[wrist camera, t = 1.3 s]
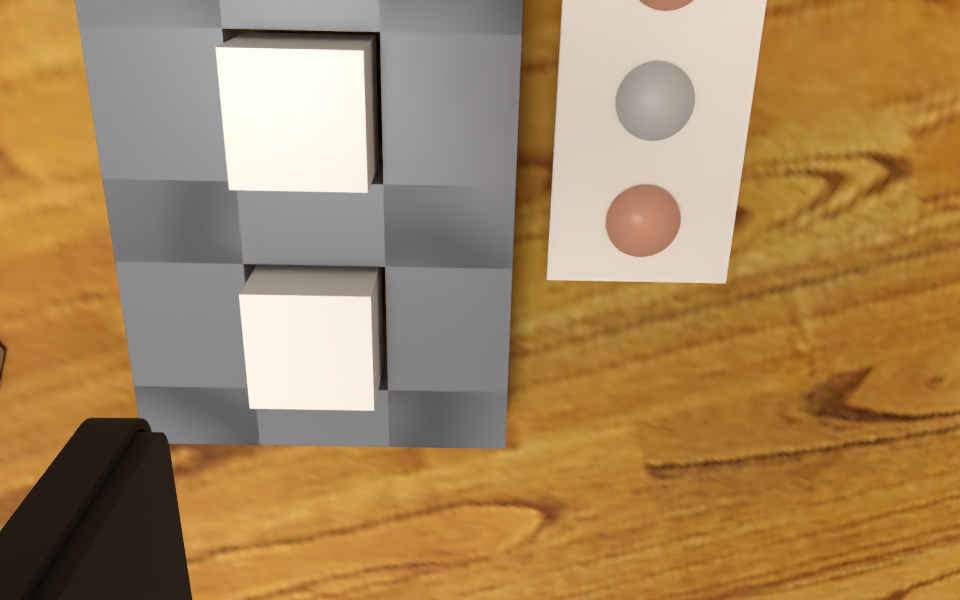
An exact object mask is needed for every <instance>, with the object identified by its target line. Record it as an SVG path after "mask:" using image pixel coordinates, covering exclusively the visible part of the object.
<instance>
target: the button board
mask: <svg viewBox="0 0 960 600" xmlns="http://www.w3.org/2000/svg"><path fill="white" fill-rule="evenodd" d="M75 3H76V10H77V16H78V23H79V29H80V36H81V42H82V49H83V55H84V62H85V69H86V75H87V82H88V88H89V95H90V101H91V108H92V114H93V121H94V127H95V134H96V140H97V147H98V154H99V160H100V167H101V173H102V180H103V186H104V193H105V199H106V206H107V212H108V219H109V225H110V232H111V239H112V245H113V252H114V258H115V265H116V271H117V278H118V284H119V291H120V297H121V304H122V310H123V317H124V323H125V330H126V337H127V343H128V350H129V356H130V363H131V369H132V376H133V382H134V389H135V395H136V402H137V408H138V415H139V418H144V419H145V420H146V421H148V423H149V425H150V427H151V430H152V432H163V433H164V434H165V435H166V437H167V439H168V443H177V444H240V445H303V446H367V447H430V448H493V449H505V442H506V417H507V391H508V366H509V341H510V316H511V291H512V266H513V240H514V215H515V190H516V165H517V140H518V115H519V90H520V64H521V39H522V14H523V0H75ZM245 29H269V30H313V31H358V32H380V54H381V99H382V144H383V162H379V165H378V167H377V170H376V173H375V175H374V178H373V181H372V183H371V186H370V188H369V191H368V193H348V192H298V191H247V190H229V186H228V175H227V165H226V154H225V144H224V133H223V122H222V112H221V101H220V91H219V80H218V70H217V59H216V48H215V47H217V46H219V45H221V44H223V43H224V42H226V41H228V40H230V39H232V38H234V37H236V36H238V35H240V34H242V33H244V32H246V31H245ZM257 264H269V265H323V266H376V267H385V280H386V325H387V354H384V365H383V370H382V375H381V380H380V385H379V390H378V395H377V400H376V404H375V409H374V411H358V410H297V409H250V408H249V398H248V387H247V376H246V366H245V355H244V345H243V334H242V324H241V313H240V302H239V293H240V292H241V290H242V288H243V287H244V285H245V283H246V282H247V280H248V279H249V277H250V275H251V274H252V272H253V270H254V269H255V267H256V266H257Z"/></svg>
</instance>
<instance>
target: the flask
mask: <svg viewBox="0 0 960 600" xmlns="http://www.w3.org/2000/svg"><path fill="white" fill-rule="evenodd" d="M3 356H4V350H3V349H2V348H1V347H0V371H1V366H2V361H3Z"/></svg>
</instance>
